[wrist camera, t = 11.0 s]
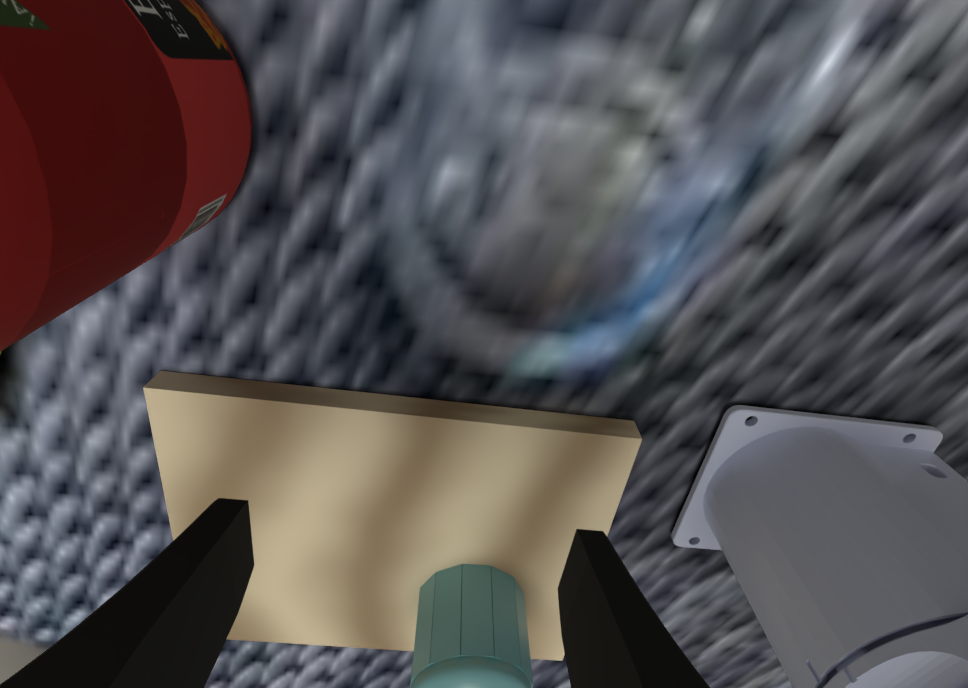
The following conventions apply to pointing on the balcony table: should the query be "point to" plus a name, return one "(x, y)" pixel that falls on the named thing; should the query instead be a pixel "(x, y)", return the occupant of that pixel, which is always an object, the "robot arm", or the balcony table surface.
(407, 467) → the birch board
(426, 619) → the teal cap
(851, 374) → the balcony table surface
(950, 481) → the robot arm
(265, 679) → the balcony table surface
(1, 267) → the canned food
